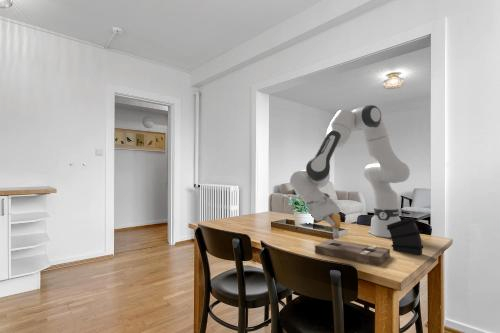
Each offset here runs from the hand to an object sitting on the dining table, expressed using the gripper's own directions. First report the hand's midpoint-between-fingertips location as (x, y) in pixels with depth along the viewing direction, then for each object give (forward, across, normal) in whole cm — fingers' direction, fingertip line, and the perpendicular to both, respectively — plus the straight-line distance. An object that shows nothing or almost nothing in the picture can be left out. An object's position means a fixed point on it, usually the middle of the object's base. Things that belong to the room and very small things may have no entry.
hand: (337, 224), depth 120 cm
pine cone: (-17, +45, +35) cm, 59 cm away
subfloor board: (+13, 0, +4) cm, 13 cm away
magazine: (+24, +18, -7) cm, 31 cm away
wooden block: (+4, 0, +5) cm, 6 cm away
